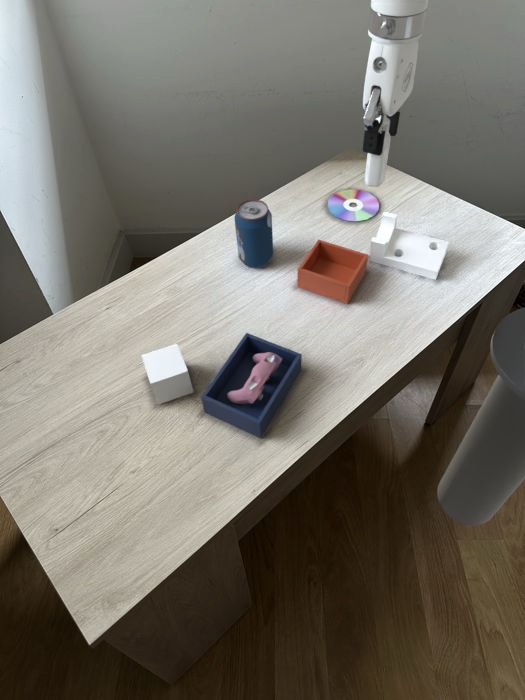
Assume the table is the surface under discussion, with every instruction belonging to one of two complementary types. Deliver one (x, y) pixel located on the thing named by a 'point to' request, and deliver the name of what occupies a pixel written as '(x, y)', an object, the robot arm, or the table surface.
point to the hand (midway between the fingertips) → (379, 142)
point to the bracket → (407, 249)
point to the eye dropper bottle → (378, 161)
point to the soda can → (254, 233)
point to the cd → (363, 211)
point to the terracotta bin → (332, 271)
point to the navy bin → (237, 374)
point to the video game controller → (256, 379)
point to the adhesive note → (167, 373)
